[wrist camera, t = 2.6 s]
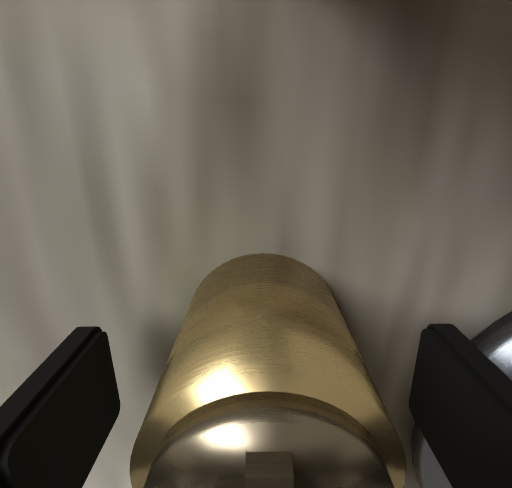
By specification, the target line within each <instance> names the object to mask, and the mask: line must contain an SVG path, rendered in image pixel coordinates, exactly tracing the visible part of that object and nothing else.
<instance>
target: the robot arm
mask: <svg viewBox="0 0 512 488" xmlns="http://www.w3.org/2000/svg"><path fill="white" fill-rule="evenodd" d="M409 408H410V411H411V414H412V416H413V418H414V420H415V422H416V423H417V425H418V427H419V429H420V430H421V432H422V434H423V436H424V438H425V439H426V441H427V443H428V445H429V447H430V448H431V450H432V452H433V454H434V456H435V457H436V459H437V461H438V463H439V465H440V466H441V468H442V470H443V472H444V473H445V475H446V477H447V479H448V481H449V482H450V484H451V486H452V488H512V380H511V379H510V378H509V377H508V376H507V375H505V374H504V373H503V372H502V371H501V370H500V369H499V368H498V367H497V366H496V365H495V364H494V363H493V362H492V361H491V360H490V359H489V358H488V357H487V356H486V355H484V354H483V353H482V352H481V351H480V350H479V349H478V348H477V347H476V346H475V345H474V344H473V343H472V342H471V341H470V340H469V339H468V338H467V337H466V336H464V335H463V334H462V333H461V332H460V331H459V330H458V329H457V328H456V327H455V326H454V325H452V324H430V325H428V327H427V329H424V330H422V332H421V337H420V343H419V348H418V354H417V359H416V365H415V370H414V376H413V381H412V387H411V393H410V398H409ZM119 411H120V399H119V394H118V388H117V383H116V378H115V373H114V367H113V362H112V357H111V352H110V346H109V341H108V336H107V333H106V332H102V330H101V328H100V327H77V328H76V329H75V330H74V331H73V332H72V333H71V334H70V335H69V336H68V337H67V338H66V339H65V340H64V341H63V342H62V343H61V344H60V345H59V346H58V347H57V348H56V349H55V350H54V351H53V352H52V353H51V355H50V356H49V357H48V358H47V359H46V360H45V361H44V362H43V363H42V364H41V365H40V366H39V367H38V368H37V369H36V370H35V371H34V372H33V373H32V374H31V375H30V376H29V377H28V378H27V379H26V381H25V382H24V383H23V384H22V385H21V386H20V387H19V388H18V389H17V390H16V391H15V392H14V393H13V394H12V395H11V396H10V397H9V398H8V399H7V400H6V401H5V402H4V403H3V404H2V406H1V407H0V488H82V487H83V485H84V483H85V481H86V479H87V477H88V475H89V473H90V471H91V469H92V467H93V465H94V463H95V461H96V459H97V457H98V455H99V453H100V451H101V449H102V447H103V445H104V443H105V441H106V439H107V437H108V435H109V433H110V431H111V429H112V427H113V425H114V423H115V421H116V419H117V417H118V415H119Z"/></svg>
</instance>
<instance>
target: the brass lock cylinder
mask: <svg viewBox="0 0 512 488" xmlns="http://www.w3.org/2000/svg"><path fill="white" fill-rule="evenodd" d="M405 476H406V460H405V454H404V450H403V447H402V443H401V441H400V439H399V437H398V435H397V433H396V430H395V428H394V426H393V424H392V422H391V420H390V418H389V415H388V413H387V411H386V409H385V407H384V405H383V402H382V400H381V398H380V396H379V394H378V392H377V390H376V387H375V385H374V383H373V381H372V379H371V377H370V375H369V372H368V370H367V368H366V366H365V364H364V362H363V359H362V357H361V355H360V353H359V351H358V349H357V347H356V344H355V342H354V340H353V338H352V336H351V334H350V331H349V329H348V327H347V325H346V323H345V321H344V319H343V316H342V314H341V312H340V310H339V308H338V306H337V303H336V301H335V299H334V297H333V295H332V293H331V291H330V289H329V287H328V286H327V284H326V283H325V281H324V280H323V279H322V278H321V277H320V276H319V275H318V274H317V273H316V272H315V271H313V270H312V269H311V268H310V267H308V266H306V265H305V264H303V263H301V262H299V261H297V260H295V259H292V258H289V257H286V256H282V255H276V254H264V253H262V254H251V255H245V256H241V257H238V258H235V259H232V260H230V261H228V262H226V263H224V264H222V265H220V266H219V267H217V268H216V269H214V270H213V271H212V272H211V273H210V274H209V275H207V277H206V278H205V279H204V280H203V281H202V282H201V284H200V285H199V287H198V288H197V290H196V292H195V294H194V296H193V298H192V301H191V304H190V306H189V309H188V311H187V314H186V316H185V319H184V321H183V324H182V326H181V329H180V331H179V334H178V336H177V339H176V341H175V344H174V346H173V349H172V351H171V354H170V356H169V359H168V361H167V364H166V366H165V369H164V371H163V374H162V376H161V379H160V381H159V384H158V386H157V389H156V391H155V394H154V396H153V399H152V401H151V404H150V406H149V409H148V411H147V414H146V416H145V419H144V421H143V424H142V426H141V429H140V431H139V434H138V436H137V439H136V441H135V444H134V447H133V451H132V455H131V460H130V478H131V484H132V488H403V487H404V483H405Z"/></svg>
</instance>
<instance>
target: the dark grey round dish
mask: <svg viewBox="0 0 512 488" xmlns="http://www.w3.org/2000/svg"><path fill="white" fill-rule="evenodd" d="M471 342H472V343H473V344H474V345H475V346H476V347H477V348H478V349H479V350H480V351H481V352H482V353H483V354H484V355H486V356H487V357H488V358H489V359H490V360H491V361H492V362H493V363H494V364H495V365H496V366H497V367H498V368H499V369H500V370H501V371H502V372H503V373H504V374H505V375H507V376H508V377H509V378H510V379H511V380H512V312H510V313H509V314H507V315H505V316H504V317H502V318H501V319H499V320H498V321H496V322H494V323H493V324H492V325H490V326H489V327H488V328H487V329H485V330H484V331H483V332H481V333H480V334H479V335H478V336H476V337H475V338H474V339H472V340H471ZM411 447H412V461H413V466H414V469H415V473H416V477H417V479H418V481H419V483H420V485H421V487H422V488H452V486H451V484H450V482H449V481H448V479H447V477H446V475H445V473H444V472H443V470H442V468H441V466H440V465H439V463H438V461H437V459H436V457H435V456H434V454H433V452H432V450H431V448H430V447H429V445H428V443H427V441H426V439H425V438H424V436H423V434H422V432H421V430H420V429H419V427H418V425H417V423H416V422H415V426H414V429H413V437H412V446H411Z"/></svg>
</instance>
